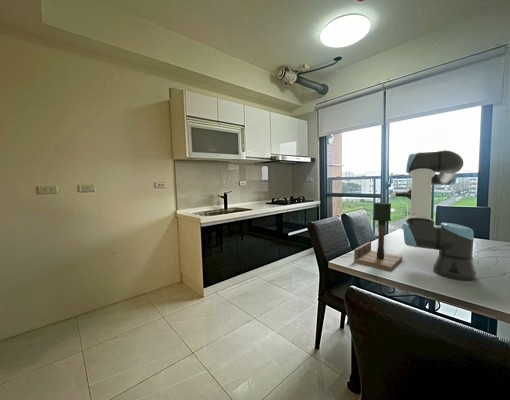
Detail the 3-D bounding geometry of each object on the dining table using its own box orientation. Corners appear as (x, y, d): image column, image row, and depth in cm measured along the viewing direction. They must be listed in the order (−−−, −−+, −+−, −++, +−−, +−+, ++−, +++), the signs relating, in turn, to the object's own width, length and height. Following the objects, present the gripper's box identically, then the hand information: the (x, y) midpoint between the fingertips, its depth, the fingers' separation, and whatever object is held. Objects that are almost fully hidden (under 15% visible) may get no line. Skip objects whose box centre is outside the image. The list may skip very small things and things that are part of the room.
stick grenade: (393, 260, 119) (395, 203, 117) (376, 260, 120) (378, 204, 117) (384, 255, 128) (386, 202, 125) (368, 255, 128) (370, 202, 125)
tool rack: (368, 253, 138) (368, 241, 137) (402, 260, 125) (402, 248, 124) (354, 261, 124) (354, 249, 124) (390, 270, 111) (391, 257, 111)
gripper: (437, 201, 144) (427, 203, 131) (394, 198, 163) (381, 200, 150) (438, 189, 143) (428, 190, 130) (394, 188, 163) (381, 189, 149)
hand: (403, 196), depth 140 cm, fingers open, 13 cm apart
